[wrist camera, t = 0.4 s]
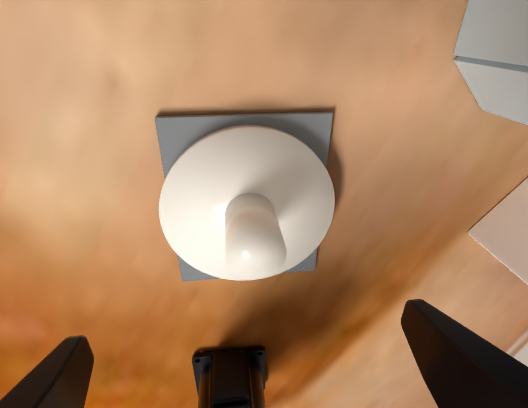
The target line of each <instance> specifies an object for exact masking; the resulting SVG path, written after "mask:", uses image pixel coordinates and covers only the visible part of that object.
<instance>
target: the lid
mask: <svg viewBox="0 0 528 408" xmlns="http://www.w3.org/2000/svg"><path fill="white" fill-rule="evenodd" d="M334 206H335V196H334V189H333V184H332V181H331V178H330V176H329V173H328V171H327V170H326V168H325V166H324V165H323V163H322V162H321V160H320V159H319V158H318V156H317V155H316V154H315V153H314V152H313V150H312V149H311V148H310V147H309V146H307V145H306V144H305V143H304V142H303V141H301V140H300V139H298V138H297V137H295V136H294V135H291V134H289V133H287V132H285V131H283V130H280V129H276V128H273V127H268V126H263V125H237V126H231V127H226V128H222V129H219V130H217V131H214V132H211V133H209V134H207V135H205V136H203V137H201V138H200V139H198V140H197V141H195V142H194V143H192V144H191V145H190V146H188V147H187V148H186V149H185V150H184V151H183V152H182V153H181V154H180V155H179V157H178V158H177V159H176V160H175V162H174V163H173V165H172V166H171V168H170V170H169V172H168V174H167V176H166V179H165V182H164V185H163V188H162V191H161V196H160V200H159V216H160V223H161V226H162V230H163V232H164V235H165V237H166V239H167V241H168V242H169V244H170V246H171V247H172V249H173V250H174V251H175V252H176V253H177V254H178V256H180V257H181V258H182V259H183V260H184V261H185V262H186V263H188V264H189V265H191V266H192V267H194V268H196V269H198V270H199V271H201V272H203V273H206V274H209V275H211V276H215V277H218V278H222V279H228V280H240V281H242V280H256V279H262V278H267V277H271V276H274V275H277V274H280V273H282V272H284V271H286V270H289V269H291V268H292V267H294V266H296V265H297V264H299V263H300V262H302V261H303V260H304V259H306V258H307V257H308V256H309V255H310V254H311V253H312V252H313V251H314V250H315V249H316V248H317V247H318V246H319V244H320V243H321V241H322V240H323V239H324V237H325V235H326V233H327V231H328V229H329V227H330V224H331V222H332V218H333V214H334Z"/></svg>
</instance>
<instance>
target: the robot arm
mask: <svg viewBox="0 0 528 408" xmlns="http://www.w3.org/2000/svg"><path fill="white" fill-rule="evenodd" d="M401 325H402V329H403V331H404V334H405V336H406V338H407V341H408V343H409V346H410V348H411V350H412V353H413V355H414V358H415V360H416V363H417V365H418V367H419V370H420V372H421V374H422V377H423V379H424V381H425V383H426V385H427V387H428V389H429V391H430V393H431V394H432V396H433V398H434V400H435V402H436V404H437V406H438V408H528V367H527V366H526V365H524V364H522V363H521V362H519V361H517V360H516V359H515V358H513V357H511V356H510V355H508V354H507V353H505V352H504V351H502V350H501V349H499V348H497V347H496V346H494V345H493V344H491V343H490V342H488V341H486V340H485V339H483V338H482V337H480V336H479V335H477V334H476V333H474V332H472V331H471V330H469V329H468V328H466V327H465V326H463V325H461V324H460V323H458V322H457V321H455V320H454V319H452V318H451V317H449V316H447V315H446V314H444V313H443V312H441V311H440V310H438V309H436V308H435V307H433V306H432V305H430V304H429V303H427V302H426V301H424V300H422V299H414V300H408V301H407V302H406V304H405V307H404V311H403V314H402V318H401ZM265 360H266V352H265V348H264V347H262V346H258V347H249V348H240V349H231V350H222V351H213V352H204V353H196V354H194V355H193V357H192V364H193V369H194V375H195V381H196V386H197V392H198V397H199V401H198V408H266V407H265V399H264V391H263V390H264V389H265ZM93 363H94V356H93V353H92V350H91V348H90V345H89V343H88V340H87V338H86V337H85V336H84V335H78V336H70V337H67V338H66V339H64V340H63V341H62V342H61V343H60V344H59V345H58V346H57V347H56V348H55V349H54V350H53V351H52V352H51V353H50V354H48V355H47V356H46V357H45V358H44V359H43V360H42V361H41V362H40V363H39V364H38V365H37V366H36V367H35V368H34V369H33V370H32V371H31V372H30V373H28V374H27V375H26V376H25V377H24V378H23V379H22V380H21V381H20V382H19V383H18V384H17V385H16V386H15V387H14V388H13V389H12V390H11V391H10V392H8V393H7V394H6V395H5V396H4V397H3V398H2V399H1V400H0V408H84V405H85V401H86V396H87V391H88V387H89V382H90V378H91V373H92V368H93Z"/></svg>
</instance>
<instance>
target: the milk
mask: <svg viewBox="0 0 528 408" xmlns="http://www.w3.org/2000/svg"><path fill="white" fill-rule="evenodd" d="M467 233H468V234H469V235H470V236H471V237H472V238H473V239H475V240H476V241H477V242H478V243H479V244H480V245H482V246H483V247H484V248H485V249H486V250H487V251H489V252H490V253H491V254H492V255H493V256H494V257H496V258H497V259H498V260H499V261H500V262H501V263H503V264H504V265H505V266H506V267H507V268H509V269H510V270H511V271H512V272H513V273H514V274H516V275H517V276H518V277H519V278H520V279H521V280H523V281H524V282H525V283H526V284H527V285H528V178H526V179H525V180H524V181H523V182H522V183H521V184H520V185H519V186H518V187H516V188H515V189H514V190H513V191H512V192H511V193H510V194H509V195H508V196H506V197H505V198H504V199H503V200H502V201H501V202H500V203H499V204H498V205H496V206H495V207H494V208H493V209H492V210H491V211H490V212H489V213H488V214H486V215H485V216H484V217H483V218H482V219H481V220H480V221H479V222H478V223H477V224H475V225H474V226H473V227H472V228H471V229H470V230H469V231H468V232H467Z"/></svg>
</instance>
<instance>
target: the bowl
mask: <svg viewBox="0 0 528 408" xmlns="http://www.w3.org/2000/svg"><path fill="white" fill-rule="evenodd" d="M453 55H456V56H457V57H456V58H455V59H454V62H455V64H456V66H457V67H458V69H459V71H460V73H461V75H462V76H463V78H464V80H465V82H466V83H467V85H468V87H469V89H470V91H471V92H472V94H473V96H474V98H475V99H476V101H477V103H478V105H479V107H480V108H481V109H482V110H484V111H486V112H489V113H492V114H495V115H498V116H501V117H504V118H506V119H509V120H512V121H515V122H518V123H521V124H524V125H527V126H528V0H468V4H467V7H466V11H465V14H464V18H463V21H462V25H461V28H460V32H459V36H458V39H457V43H456V46H455V50H454V53H453Z"/></svg>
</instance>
